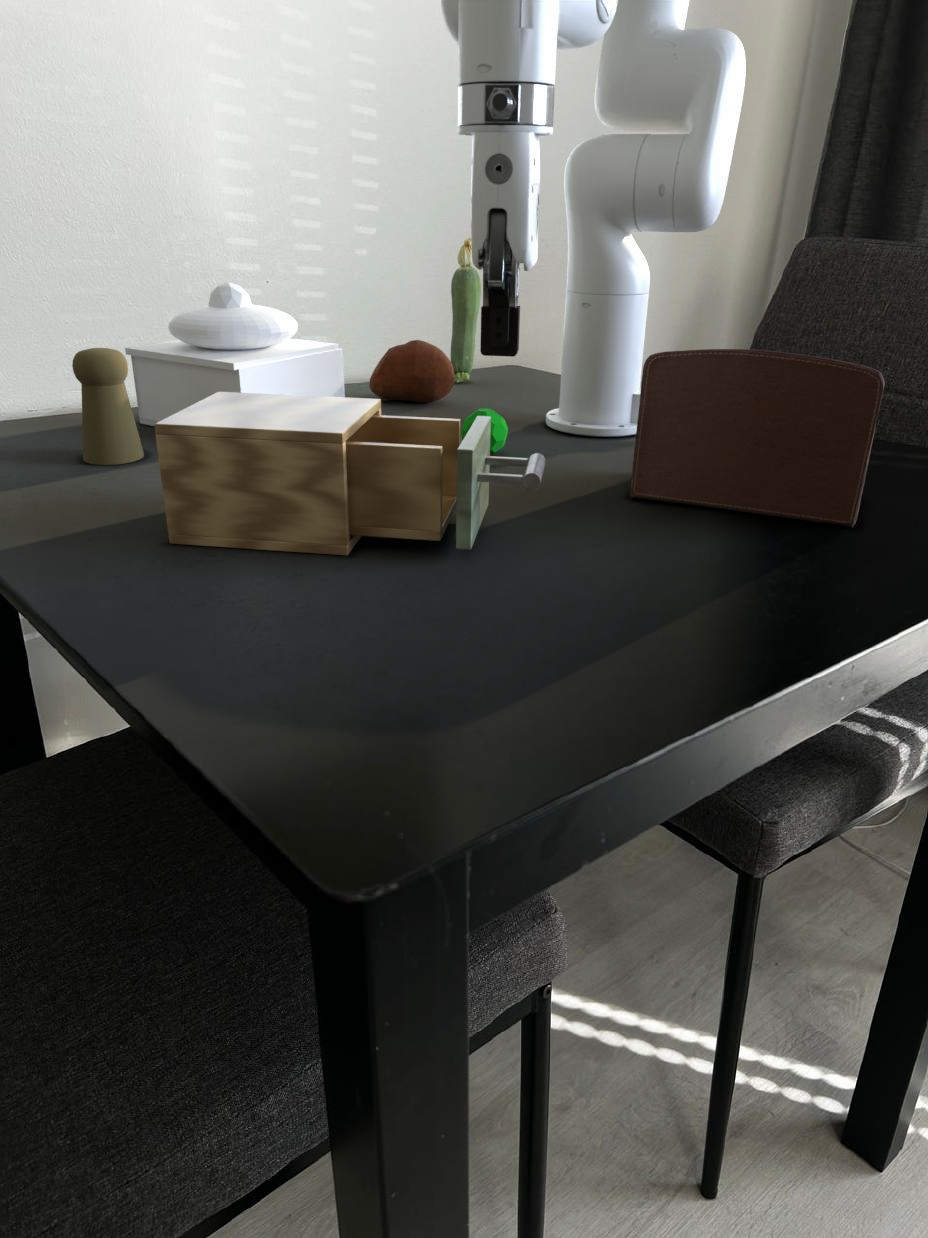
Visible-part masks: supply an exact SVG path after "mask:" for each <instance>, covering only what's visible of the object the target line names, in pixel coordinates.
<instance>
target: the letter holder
mask: <svg viewBox="0 0 928 1238" xmlns="http://www.w3.org/2000/svg"><path fill="white" fill-rule="evenodd" d="M640 386H641V393H640V404H639V413H638V422H637V431H636V434H635V442H634V451H633V460H632V469H631V471H632V472H631V480H630V487H629V496H630V498H631V499H634V500H644V501H653V502H660V503H661V502H662V503H670V504H678V505H686V506H694V507H701V508H708V509H716V510H717V509H718V510H725V511H730V512H738V513H743V514H752V515H759V516H766V517H775V518H783V519H790V520H795V521H803V522H811V523H819V524H825V525H826V524H828V525H834V526H842V527H847V528H854V525H856V522H857V520H858V517H859V510H860V507H861V501H862V495H863V492H864V491H863V490H864V487H865V482H866V476H867V471H868V467H869V461H870V458H871V457H870V456H871V450H872V445H873V442H874V436H875V432H876V431H875V430H876V428H877V427H876V426H877V422H878V418H879V417H878V416H879V413H880V409H881V405H882V399H883V394H884V389H885V379H884V376H883V374H882V372H881V371H879V370H877V369H876V368H873V367H869V366H865V365H861V364H857V363H852V362H848V361H842V360H838V359H832V358H827V357H821V356H814V355H809V354H808V355H807V354H800V353H793V352H792V353H791V352H782V351H776V350H775V351H774V350H763V349H746V348H707V349H706V348H702V349H686V350H670V351H660V352H656V353H653V354H650V355H649V356H648V357H646V359H645V361H644V363H643V365H642V373H641V381H640Z"/></svg>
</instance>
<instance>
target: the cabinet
mask: <svg viewBox="0 0 928 1238" xmlns="http://www.w3.org/2000/svg"><path fill="white" fill-rule="evenodd" d="M381 399H382V398H370V397H369V398H368V397H367V398H366V397H346V396H345V397H325V396H303V395H281V394H259V393H238V392H217V393H215V394H213V395H211V396H209V397H207V398H205V399H203V400H201V401H199V402H197V403H195V404H193V405H191V406H189V407H187V408H185V409H183V410H181V411H179V412H177V413H175V414H173V415H171V416H169V417H167V418H165V419H163V420H161V421H159V422H157V423H155V424H154V426H153V427H154V432H155V440H156V449H157V457H158V464H159V465H158V466H159V472H160V480H161V488H162V494H163V503H164V510H165V511H164V512H165V519H166V526H167V533H168V542H169V544H171V545H186V546H187V545H188V546H201V547H215V548H217V547H218V548H232V549H245V550H247V549H248V550H260V551H275V552H291V553H305V554H306V553H307V554H321V555H333V556H334V555H335V556H349V554H350V552H351V551H352V550H353V549H354V547H355V546H356V544H357V543H358V542H359V540H360V539H361V537H362V536H355V535H349V513H348V488H347V463H346V442H345V441H346V440H347V439H348V438H349V437H351V436H352V435H353V434H354V433H355V432H356V431H357V430H358V429H359V428H360V427H361V426H362V425H363V424H364V423H365V422H367V421H368V420H369V419H370V418H371V417H372V416H373V415H382V400H381Z"/></svg>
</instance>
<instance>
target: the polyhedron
mask: <svg viewBox="0 0 928 1238" xmlns="http://www.w3.org/2000/svg"><path fill="white" fill-rule="evenodd" d="M477 416H490V417H491V435H490V456H493V455H494V454H495V453H497V452H498V451H500V450H501V449H502V448H503V447H504V446H505V445H506V440H507V437H508V433H509V427H508V425H507V422H506V419H505V418H504V417H503V416H502V415H500V414H499V413H497V412H496V411H495V410H493V409H491V408H478V409H476V410H475V411H474V412H472V413H471V414H470V415H468V416H467V417H465V418H464V420H463V424H462V426H461V430H460V438H461V441H463V439H464V438H465V436H466V434H467V432H468V431H469V429H470V427H471V426H472V424H473V422H474V421H475V419H476V417H477Z"/></svg>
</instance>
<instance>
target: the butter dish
mask: <svg viewBox="0 0 928 1238" xmlns="http://www.w3.org/2000/svg"><path fill="white" fill-rule="evenodd" d="M250 297H251V296H250V295H249V293H248V292H247V291H246V290H245V288H243V287H242V286H241V285H240V284H236V283H233V282H230V281H227V282H224V283H221V284H219V285H217V286H216V287H215V288H213V290H212V291H210V294H209V299H208V300H209V301H208V305H202V306H197V307H194V308H191V309H188V310H185V311H183V312H181V313H179V314H178V315H176V316H174V317H173V318H172V319H171V320H170V321H169V322H168V331H169V334H171V336H172V337H174V338H175V340H168V341H162V342H156V343H148V344H142V345H141V344H140V345H134V346H127V347H124V350H125V355H126V356H130V359H131V366H132V373H133V374H132V375H133V380H134V387H135V388H134V389H135V396H136V402H137V411H138V417H139V424H142V425H147V426H151V427H155V426H154V424H155V423H157V422H159V421H161V420H163V419H165V418H167V417H169V416H171V415H173V414H175V413H177V412H179V411H181V410H183V409H185V408H187V407H189V406H191V405H193V404H195V403H197V402H199V401H201V400H203V399H205V398H207V397H209V396H211V395H213V394H215V393H217V392H238V393H259V394H281V395H303V396H325V397H346V391H345V389H346V387H345V367H344V365H345V363H344V348H339V343H335V342H333V343H332V342H326V341H316V340H309V339H308V340H307V339H302V338H301V339H300V338H293V337H294V335H295V334H296V333H297V332H298V328H299V324H298V321H297V319H295V318H294V317H293V316H292V315H290V314H289V313H287V312H285V311H283V310H280V309H277V308H274V307H269V306H265V305H260V304H253V303H252V300H251V298H250Z"/></svg>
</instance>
